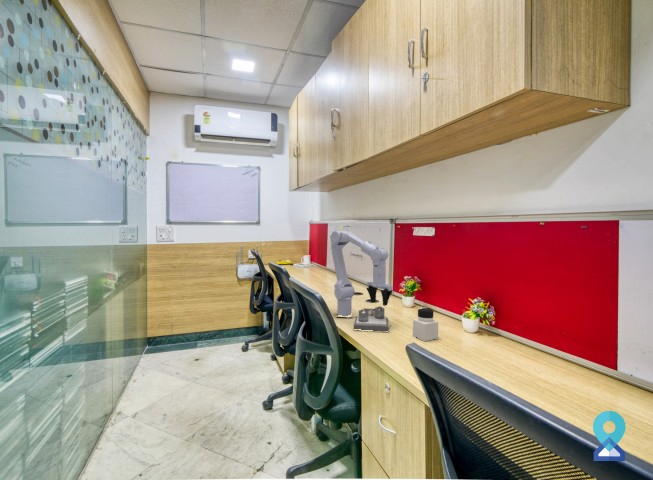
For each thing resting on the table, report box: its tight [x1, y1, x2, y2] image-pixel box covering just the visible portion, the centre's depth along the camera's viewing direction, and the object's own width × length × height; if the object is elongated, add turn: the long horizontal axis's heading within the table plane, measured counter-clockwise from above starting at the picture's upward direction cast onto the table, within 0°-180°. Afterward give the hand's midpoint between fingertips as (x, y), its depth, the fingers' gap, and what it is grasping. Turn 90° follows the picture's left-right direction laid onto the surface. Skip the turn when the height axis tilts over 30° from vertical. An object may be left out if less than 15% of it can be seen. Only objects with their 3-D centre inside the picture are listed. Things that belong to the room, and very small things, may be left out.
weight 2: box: [374, 305, 385, 319], centre depth 146 cm, size 4×4×5 cm
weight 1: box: [358, 308, 368, 322], centre depth 141 cm, size 4×4×5 cm
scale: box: [353, 307, 390, 333], centre depth 144 cm, size 17×15×6 cm
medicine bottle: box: [412, 307, 439, 342], centre depth 128 cm, size 7×7×12 cm
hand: (379, 303), depth 146 cm, fingers open, 7 cm apart
